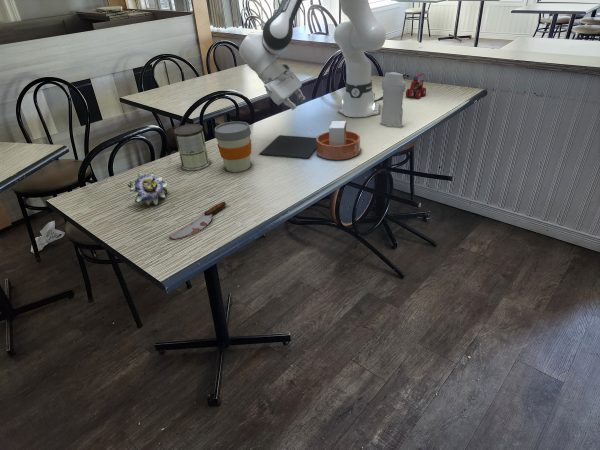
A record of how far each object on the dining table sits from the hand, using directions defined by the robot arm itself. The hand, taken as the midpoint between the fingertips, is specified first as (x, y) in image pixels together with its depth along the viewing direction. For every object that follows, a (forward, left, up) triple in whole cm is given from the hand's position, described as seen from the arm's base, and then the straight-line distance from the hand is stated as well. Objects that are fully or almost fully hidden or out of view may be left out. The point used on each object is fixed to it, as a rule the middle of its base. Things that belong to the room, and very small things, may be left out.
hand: (299, 104), depth 155 cm
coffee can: (+23, -34, -18) cm, 45 cm away
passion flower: (+51, -33, -18) cm, 64 cm away
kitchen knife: (+59, -9, -18) cm, 62 cm away
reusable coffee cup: (+21, -17, -18) cm, 33 cm away
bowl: (0, +15, -17) cm, 23 cm away
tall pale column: (-33, +29, -18) cm, 47 cm away
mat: (-1, -4, -17) cm, 18 cm away
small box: (0, +15, -17) cm, 23 cm away
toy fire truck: (-78, +33, -18) cm, 86 cm away
